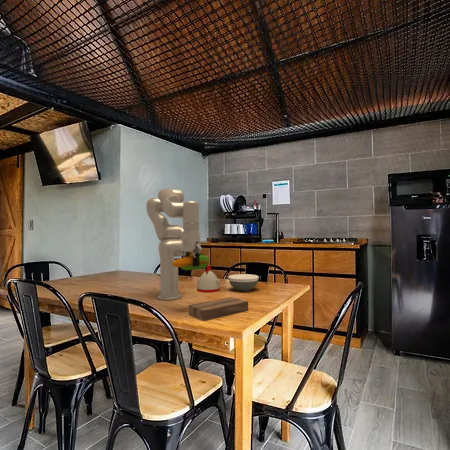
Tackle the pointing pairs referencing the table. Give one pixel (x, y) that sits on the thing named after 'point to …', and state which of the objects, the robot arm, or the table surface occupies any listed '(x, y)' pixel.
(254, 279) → the bowl
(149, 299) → the table surface
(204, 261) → the corn
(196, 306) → the board
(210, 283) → the kitchen timer
